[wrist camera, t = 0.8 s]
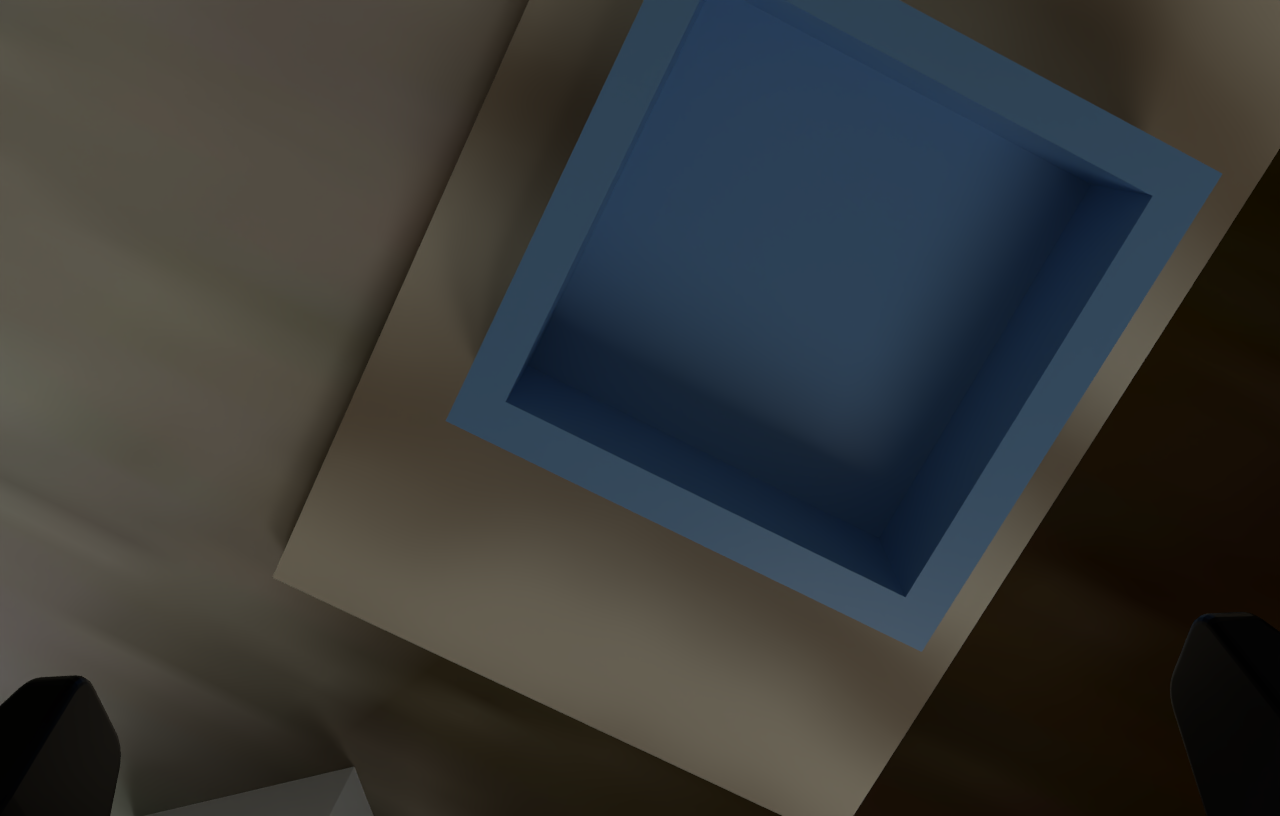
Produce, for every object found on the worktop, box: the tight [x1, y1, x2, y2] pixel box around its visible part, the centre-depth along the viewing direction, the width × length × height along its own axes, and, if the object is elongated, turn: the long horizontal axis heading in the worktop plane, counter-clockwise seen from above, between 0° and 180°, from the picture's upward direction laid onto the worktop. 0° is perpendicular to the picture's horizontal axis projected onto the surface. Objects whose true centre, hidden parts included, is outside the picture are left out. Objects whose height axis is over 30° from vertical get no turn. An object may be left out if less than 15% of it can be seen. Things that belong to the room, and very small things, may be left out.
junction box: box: [446, 0, 1222, 652], centre depth 21 cm, size 10×10×4 cm
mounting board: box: [272, 0, 1280, 816], centre depth 23 cm, size 22×14×1 cm, turn 153°
